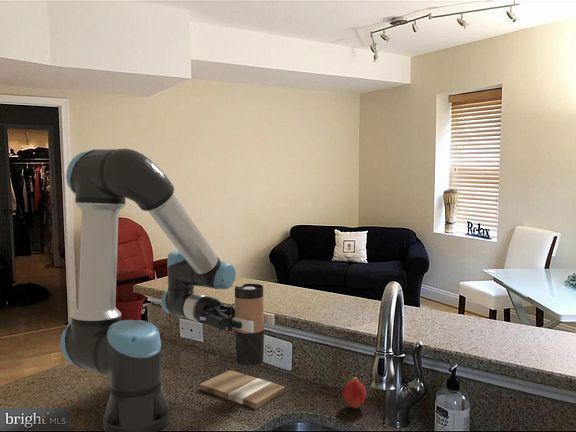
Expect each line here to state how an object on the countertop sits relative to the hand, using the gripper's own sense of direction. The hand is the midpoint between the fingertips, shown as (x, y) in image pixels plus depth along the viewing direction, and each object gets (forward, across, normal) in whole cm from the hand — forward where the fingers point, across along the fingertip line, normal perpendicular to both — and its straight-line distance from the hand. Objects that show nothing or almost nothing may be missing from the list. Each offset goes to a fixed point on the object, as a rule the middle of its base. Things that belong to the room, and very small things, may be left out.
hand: (263, 323), depth 131 cm
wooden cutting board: (-8, 0, -20) cm, 21 cm away
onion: (+22, -10, -20) cm, 31 cm away
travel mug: (-5, 0, -11) cm, 12 cm away
